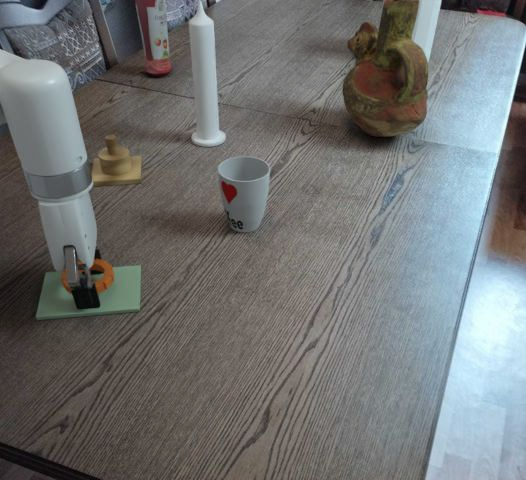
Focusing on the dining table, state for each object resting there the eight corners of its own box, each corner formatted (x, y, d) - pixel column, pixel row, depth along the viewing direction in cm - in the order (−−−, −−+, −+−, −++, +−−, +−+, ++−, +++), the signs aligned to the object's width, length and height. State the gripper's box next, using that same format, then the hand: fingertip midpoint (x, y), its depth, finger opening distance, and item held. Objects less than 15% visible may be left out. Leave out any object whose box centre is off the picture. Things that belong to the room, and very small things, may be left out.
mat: (36, 320, 75) (35, 317, 75) (46, 275, 82) (45, 272, 82) (140, 311, 77) (139, 308, 76) (141, 268, 84) (140, 264, 83)
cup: (214, 215, 94) (211, 160, 86) (259, 207, 96) (259, 152, 89) (229, 241, 88) (227, 185, 81) (276, 232, 90) (278, 176, 83)
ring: (60, 298, 75) (58, 291, 74) (66, 267, 80) (64, 260, 79) (112, 294, 76) (111, 287, 75) (115, 263, 80) (113, 256, 80)
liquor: (161, 81, 135) (144, -58, 115) (138, 75, 138) (118, -62, 118) (179, 72, 140) (166, -64, 120) (157, 66, 142) (140, -68, 122)
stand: (91, 186, 100) (82, 150, 95) (95, 163, 106) (87, 127, 101) (141, 183, 101) (135, 147, 96) (142, 160, 107) (136, 124, 102)
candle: (186, 145, 112) (173, 4, 94) (197, 130, 117) (187, -7, 99) (220, 149, 111) (213, 7, 93) (229, 134, 116) (224, -4, 98)
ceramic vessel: (373, 99, 129) (392, -28, 111) (447, 145, 113) (483, 5, 95) (310, 113, 123) (319, -18, 105) (378, 163, 107) (403, 18, 89)
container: (373, 48, 153) (384, -28, 140) (424, 50, 153) (440, -27, 140) (378, 67, 143) (390, -14, 130) (434, 69, 143) (451, -12, 130)
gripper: (37, 144, 72) (71, 255, 85) (13, 217, 60) (57, 334, 73) (96, 141, 72) (120, 252, 85) (84, 212, 61) (114, 328, 73)
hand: (91, 289), depth 79 cm, fingers closed on ring, 7 cm apart
